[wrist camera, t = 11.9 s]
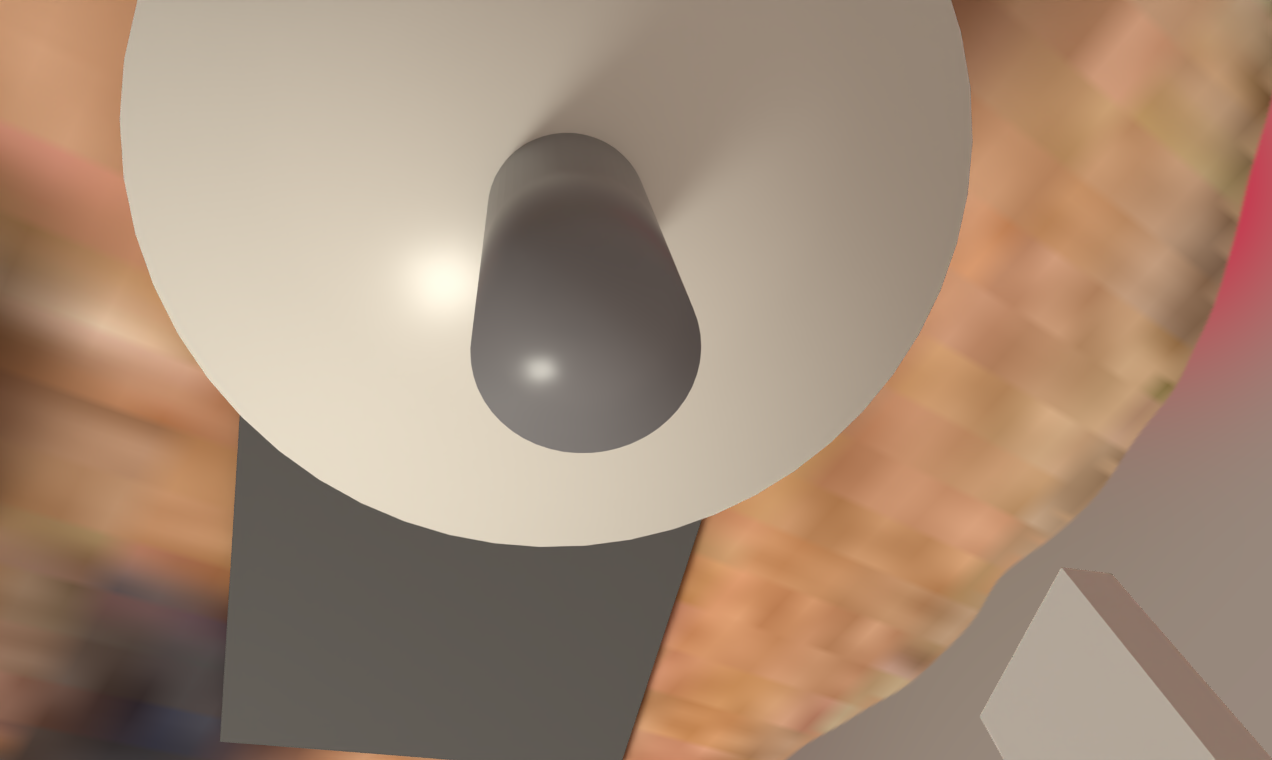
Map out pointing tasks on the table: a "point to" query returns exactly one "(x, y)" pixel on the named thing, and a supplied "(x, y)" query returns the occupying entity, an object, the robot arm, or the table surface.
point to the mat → (431, 629)
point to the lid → (547, 238)
